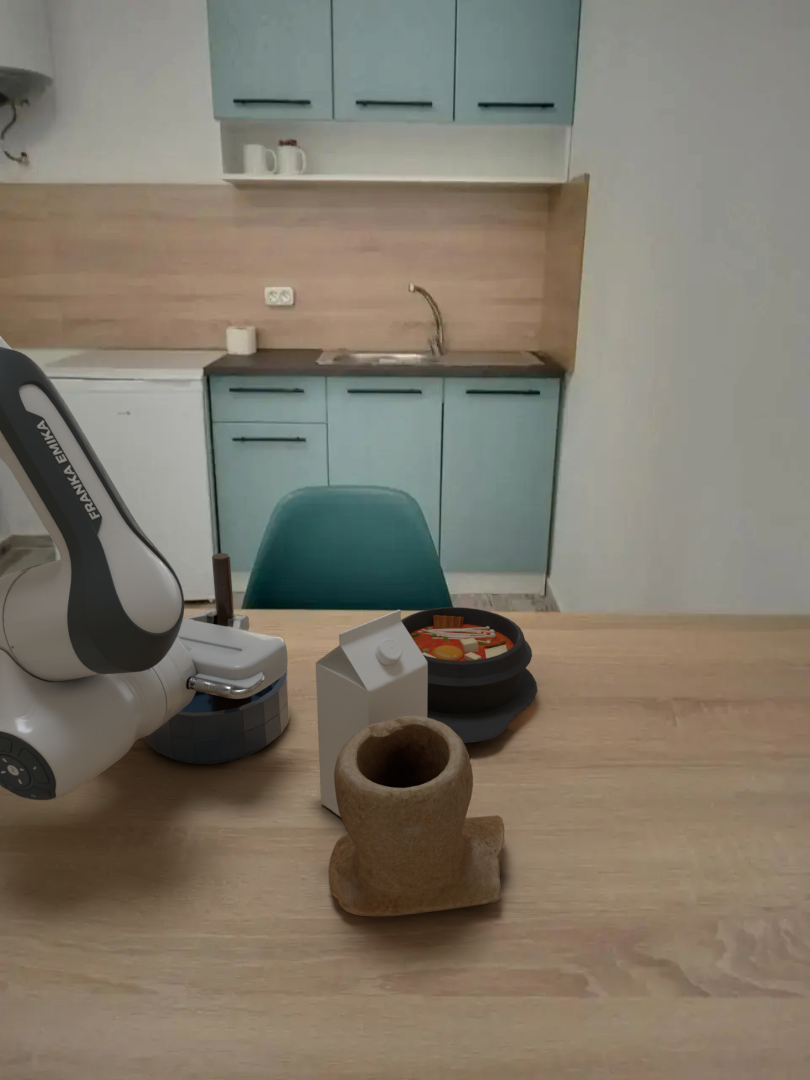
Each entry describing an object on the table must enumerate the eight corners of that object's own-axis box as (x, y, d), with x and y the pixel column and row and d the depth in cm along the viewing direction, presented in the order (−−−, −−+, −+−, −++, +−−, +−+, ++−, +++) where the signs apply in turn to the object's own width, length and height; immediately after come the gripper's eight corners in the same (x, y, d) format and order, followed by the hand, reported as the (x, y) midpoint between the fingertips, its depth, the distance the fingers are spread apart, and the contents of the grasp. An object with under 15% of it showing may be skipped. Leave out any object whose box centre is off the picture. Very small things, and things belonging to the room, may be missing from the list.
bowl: (119, 723, 92) (113, 675, 90) (242, 677, 101) (239, 633, 100) (187, 787, 81) (181, 734, 79) (317, 729, 90) (315, 680, 88)
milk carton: (320, 805, 78) (313, 621, 72) (375, 773, 83) (373, 598, 77) (371, 841, 73) (368, 647, 67) (427, 805, 78) (428, 621, 72)
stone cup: (329, 953, 62) (322, 782, 57) (328, 845, 73) (323, 694, 68) (529, 939, 63) (540, 770, 58) (499, 835, 74) (505, 686, 69)
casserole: (397, 644, 110) (397, 585, 107) (539, 655, 107) (542, 595, 104) (353, 749, 87) (352, 678, 84) (533, 767, 84) (537, 694, 81)
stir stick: (204, 707, 92) (191, 555, 86) (239, 694, 94) (228, 545, 88) (224, 724, 88) (212, 566, 83) (259, 709, 91) (250, 556, 85)
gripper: (241, 666, 72) (315, 606, 84) (57, 628, 79) (150, 578, 91) (245, 729, 74) (317, 662, 86) (66, 686, 81) (155, 630, 93)
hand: (230, 618), depth 89 cm, fingers closed on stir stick, 2 cm apart
